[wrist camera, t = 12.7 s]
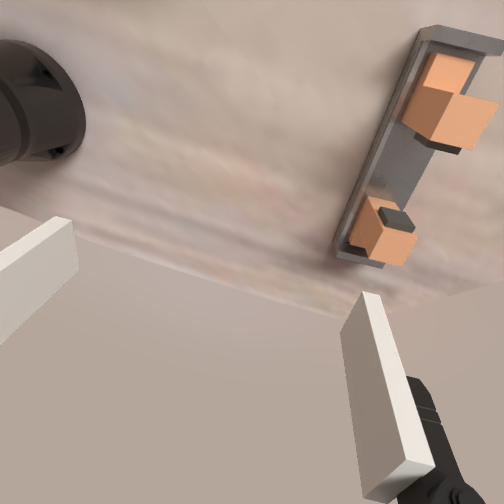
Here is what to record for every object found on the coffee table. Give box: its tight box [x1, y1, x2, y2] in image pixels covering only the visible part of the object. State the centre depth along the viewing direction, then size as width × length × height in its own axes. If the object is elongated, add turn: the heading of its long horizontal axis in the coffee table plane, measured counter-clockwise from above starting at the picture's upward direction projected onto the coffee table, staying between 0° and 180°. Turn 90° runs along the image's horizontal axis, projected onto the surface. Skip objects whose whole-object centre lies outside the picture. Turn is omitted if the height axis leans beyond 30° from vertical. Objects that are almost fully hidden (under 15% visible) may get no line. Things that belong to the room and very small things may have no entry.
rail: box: [333, 25, 504, 269], centre depth 39 cm, size 7×28×5 cm, turn 168°
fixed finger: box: [401, 53, 499, 155], centre depth 31 cm, size 4×8×10 cm, turn 168°
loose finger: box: [349, 196, 418, 267], centre depth 39 cm, size 4×8×10 cm, turn 169°
